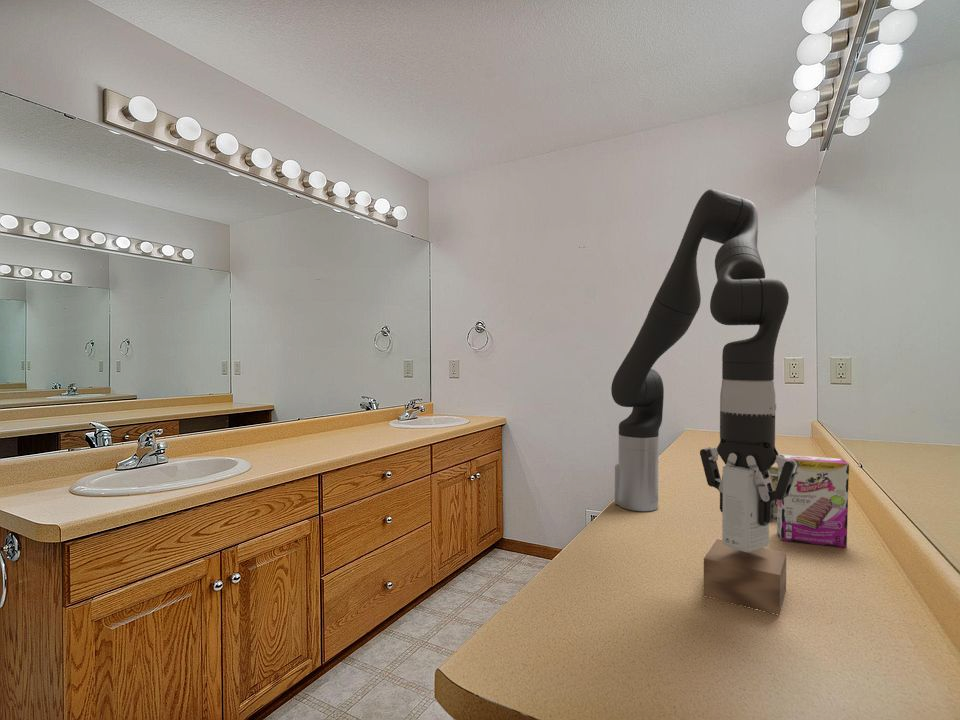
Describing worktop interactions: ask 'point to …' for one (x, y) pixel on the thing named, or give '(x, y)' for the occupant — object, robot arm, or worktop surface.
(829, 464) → the candy bar box
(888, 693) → the worktop surface
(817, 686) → the worktop surface
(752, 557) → the walnut block
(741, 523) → the skincare box
